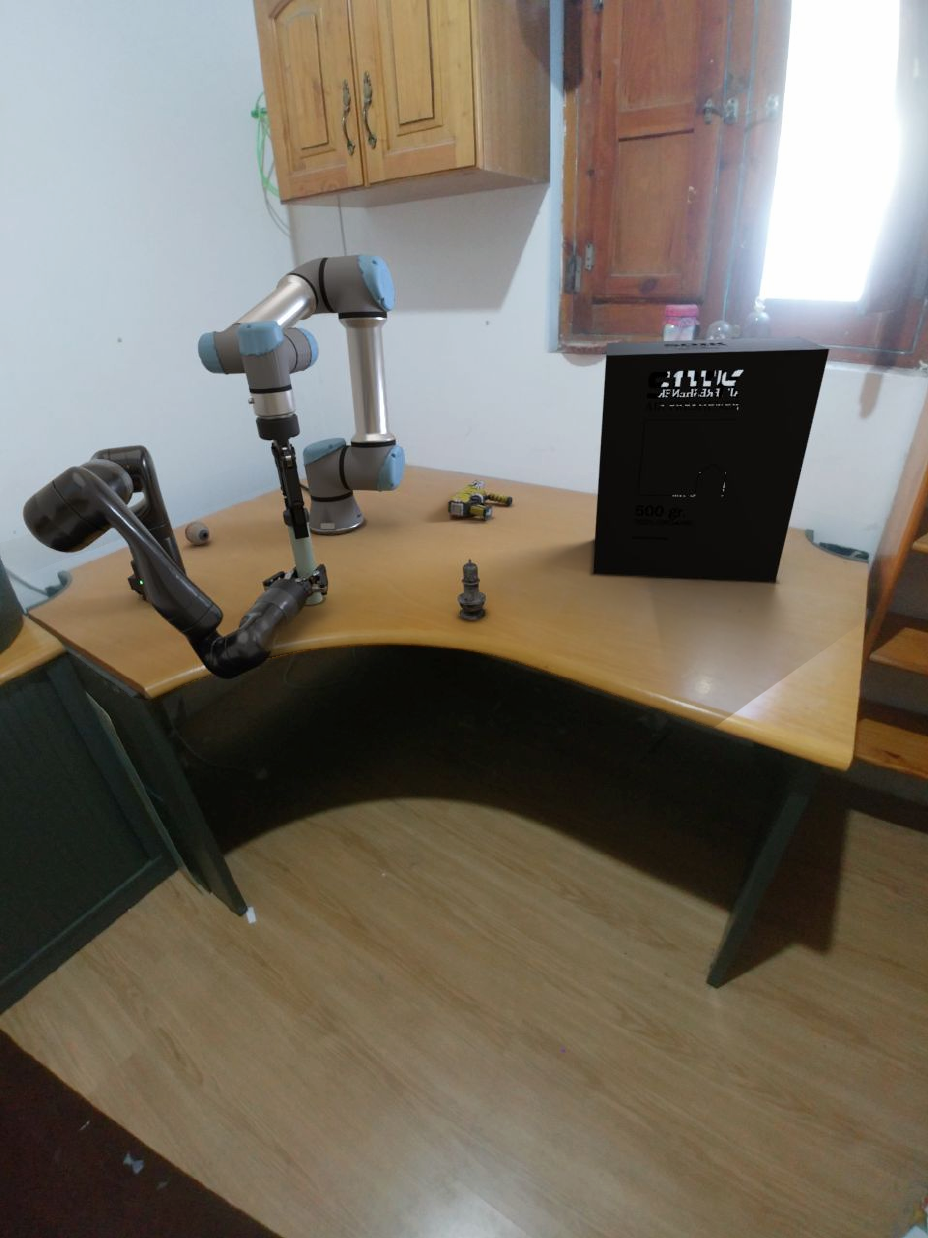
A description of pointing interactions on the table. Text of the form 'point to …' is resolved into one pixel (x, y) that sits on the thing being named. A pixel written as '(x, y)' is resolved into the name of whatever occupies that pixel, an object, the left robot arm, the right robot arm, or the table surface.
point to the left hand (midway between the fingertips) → (312, 567)
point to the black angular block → (703, 455)
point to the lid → (288, 518)
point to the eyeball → (197, 533)
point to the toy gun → (475, 501)
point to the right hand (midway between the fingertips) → (299, 532)
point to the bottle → (304, 560)
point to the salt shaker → (471, 594)
